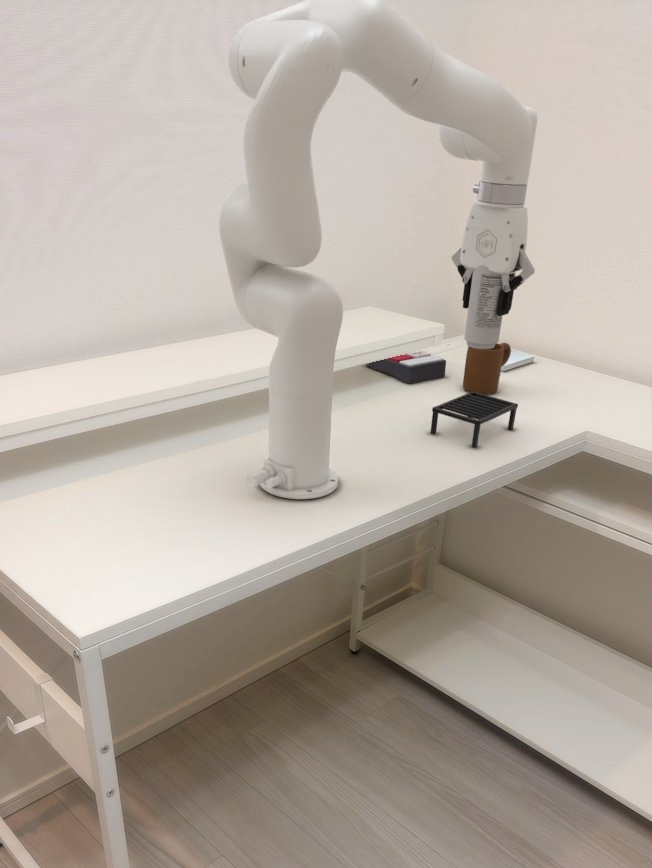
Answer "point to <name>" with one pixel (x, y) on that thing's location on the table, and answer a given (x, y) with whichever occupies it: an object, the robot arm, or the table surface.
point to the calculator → (412, 367)
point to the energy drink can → (483, 309)
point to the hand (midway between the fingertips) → (485, 309)
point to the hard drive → (517, 360)
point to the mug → (485, 368)
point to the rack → (475, 411)
